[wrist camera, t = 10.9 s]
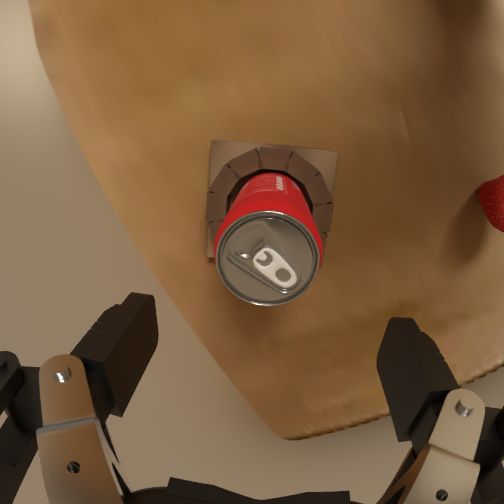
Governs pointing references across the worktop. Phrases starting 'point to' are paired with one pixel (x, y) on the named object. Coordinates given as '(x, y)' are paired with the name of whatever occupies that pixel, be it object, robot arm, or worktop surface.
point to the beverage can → (268, 242)
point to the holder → (269, 160)
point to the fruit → (493, 201)
